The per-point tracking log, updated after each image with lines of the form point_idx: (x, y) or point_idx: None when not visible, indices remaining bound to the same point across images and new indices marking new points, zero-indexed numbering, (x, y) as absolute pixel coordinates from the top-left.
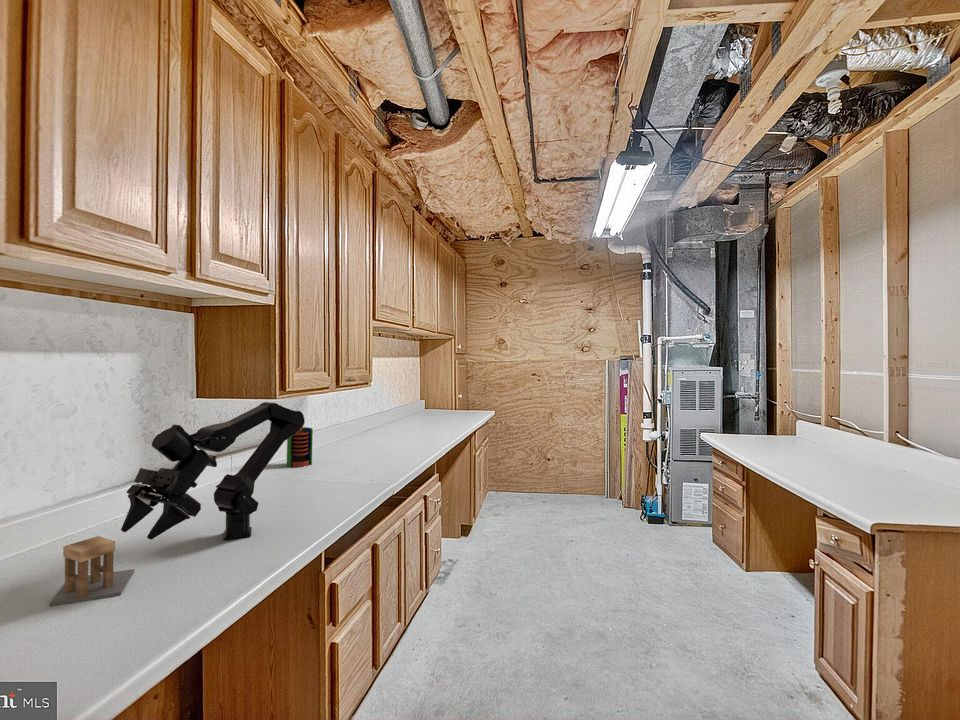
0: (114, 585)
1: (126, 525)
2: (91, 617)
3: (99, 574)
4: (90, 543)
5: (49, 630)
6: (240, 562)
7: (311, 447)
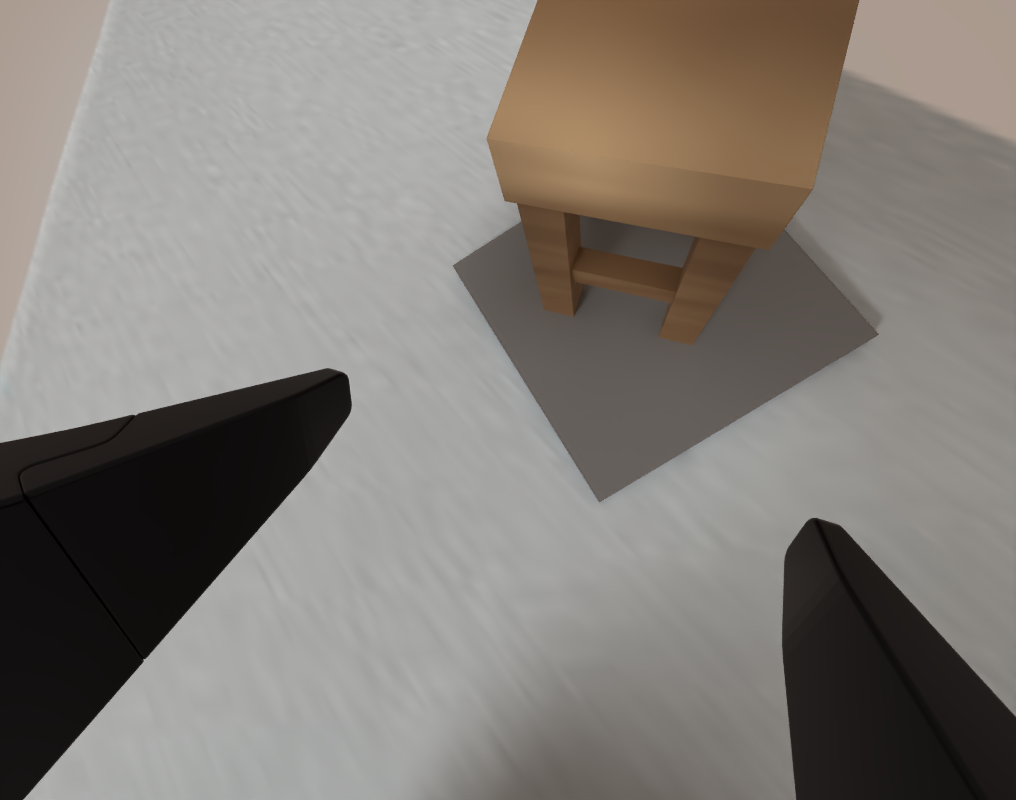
0: (537, 311)
1: (823, 583)
2: (429, 120)
3: (665, 317)
4: (674, 32)
5: (500, 29)
6: None
7: None
